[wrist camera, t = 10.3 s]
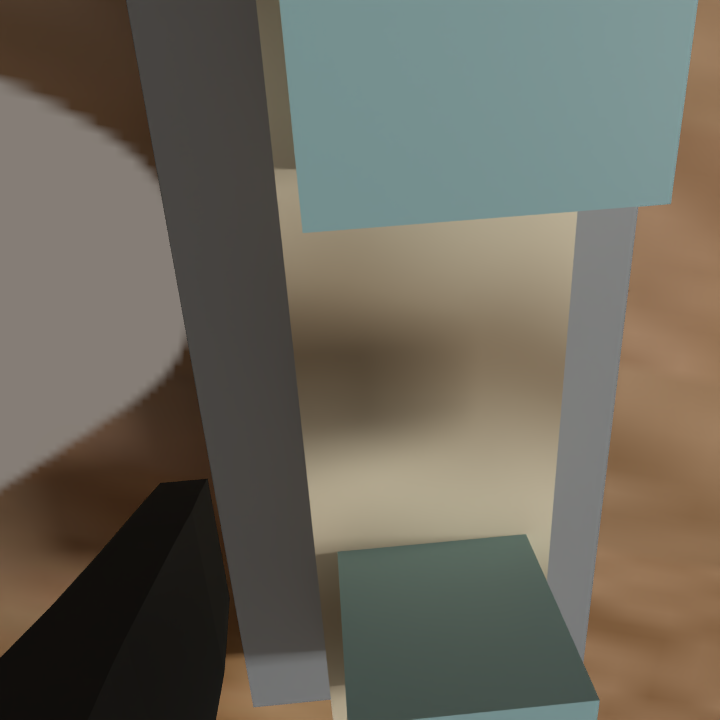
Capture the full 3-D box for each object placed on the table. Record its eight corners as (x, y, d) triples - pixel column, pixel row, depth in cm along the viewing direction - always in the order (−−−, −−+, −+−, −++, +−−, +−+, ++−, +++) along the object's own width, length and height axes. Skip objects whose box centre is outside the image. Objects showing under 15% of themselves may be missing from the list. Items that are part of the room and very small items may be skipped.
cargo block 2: (518, 667, 16) (579, 849, 12) (349, 684, 16) (362, 874, 12) (525, 534, 14) (599, 700, 11) (337, 551, 14) (347, 726, 11)
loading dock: (559, 623, 22) (581, 673, 21) (258, 652, 22) (253, 707, 20) (654, -356, 12) (713, -425, 10) (92, -334, 12) (53, -402, 10)
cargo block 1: (550, 150, 11) (670, 204, 7) (304, 168, 11) (302, 233, 7) (568, -153, 9) (734, -277, 6) (275, -136, 9) (253, -251, 5)
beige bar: (503, 633, 20) (534, 727, 17) (331, 650, 20) (335, 748, 17) (547, -253, 11) (624, -347, 8) (242, -240, 11) (221, -331, 8)
